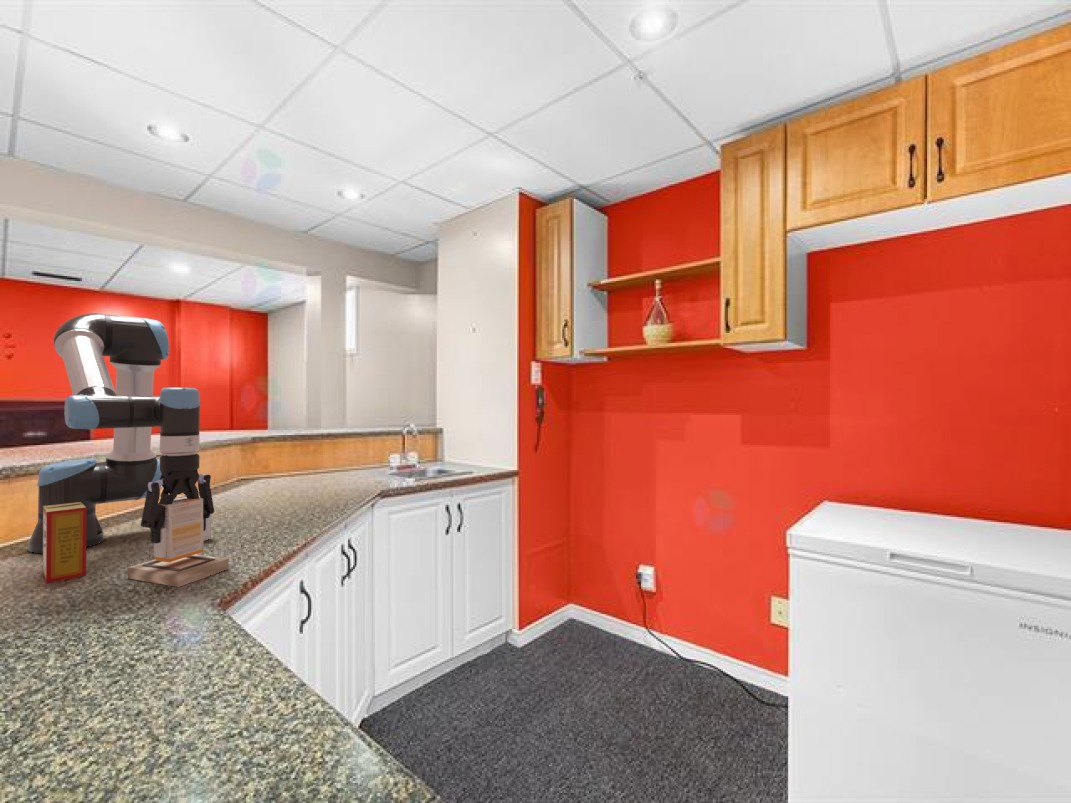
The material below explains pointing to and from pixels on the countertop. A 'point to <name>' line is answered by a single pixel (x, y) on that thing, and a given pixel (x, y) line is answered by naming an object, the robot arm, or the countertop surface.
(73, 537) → the baking soda box
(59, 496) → the robot arm
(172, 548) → the supplement box
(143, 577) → the seat pad
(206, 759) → the countertop surface
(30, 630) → the countertop surface
